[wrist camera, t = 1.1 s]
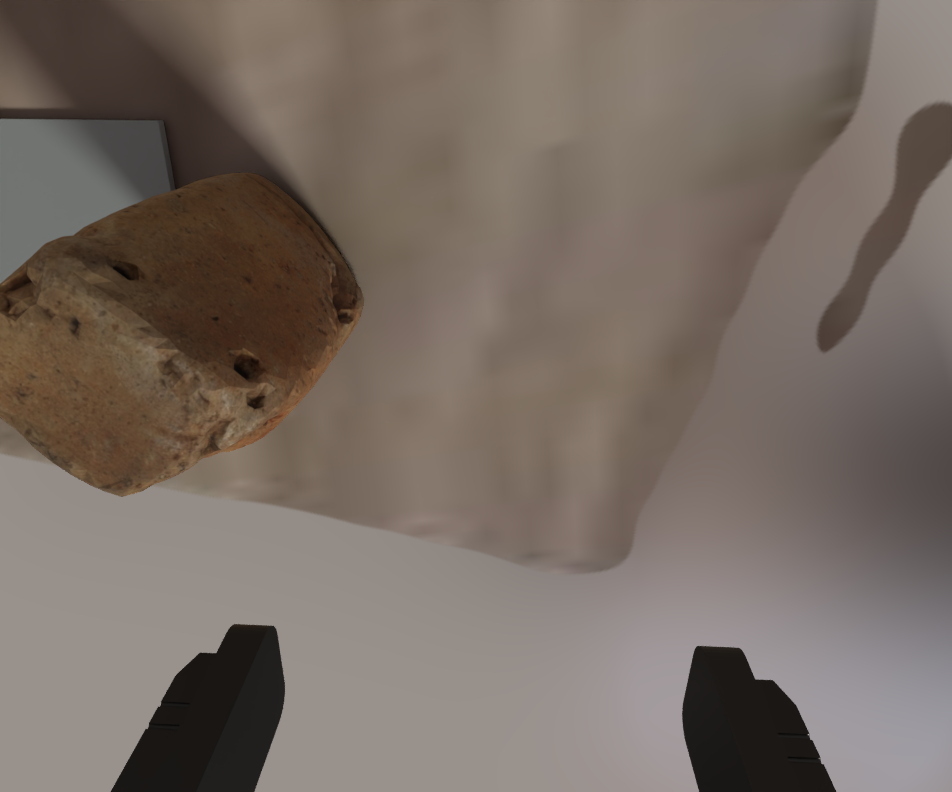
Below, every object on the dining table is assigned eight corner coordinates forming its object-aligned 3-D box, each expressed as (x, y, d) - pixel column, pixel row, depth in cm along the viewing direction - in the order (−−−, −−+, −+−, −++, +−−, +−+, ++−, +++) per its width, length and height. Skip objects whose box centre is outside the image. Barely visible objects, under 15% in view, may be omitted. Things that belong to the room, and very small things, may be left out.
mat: (-65, 117, 37) (-73, 118, 37) (163, 120, 37) (158, 120, 36) (11, 365, 43) (5, 369, 43) (207, 370, 43) (203, 374, 42)
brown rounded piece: (177, 237, 39) (-105, 363, 21) (258, 149, 37) (20, 206, 19) (310, 366, 43) (164, 571, 24) (393, 292, 40) (300, 457, 22)
